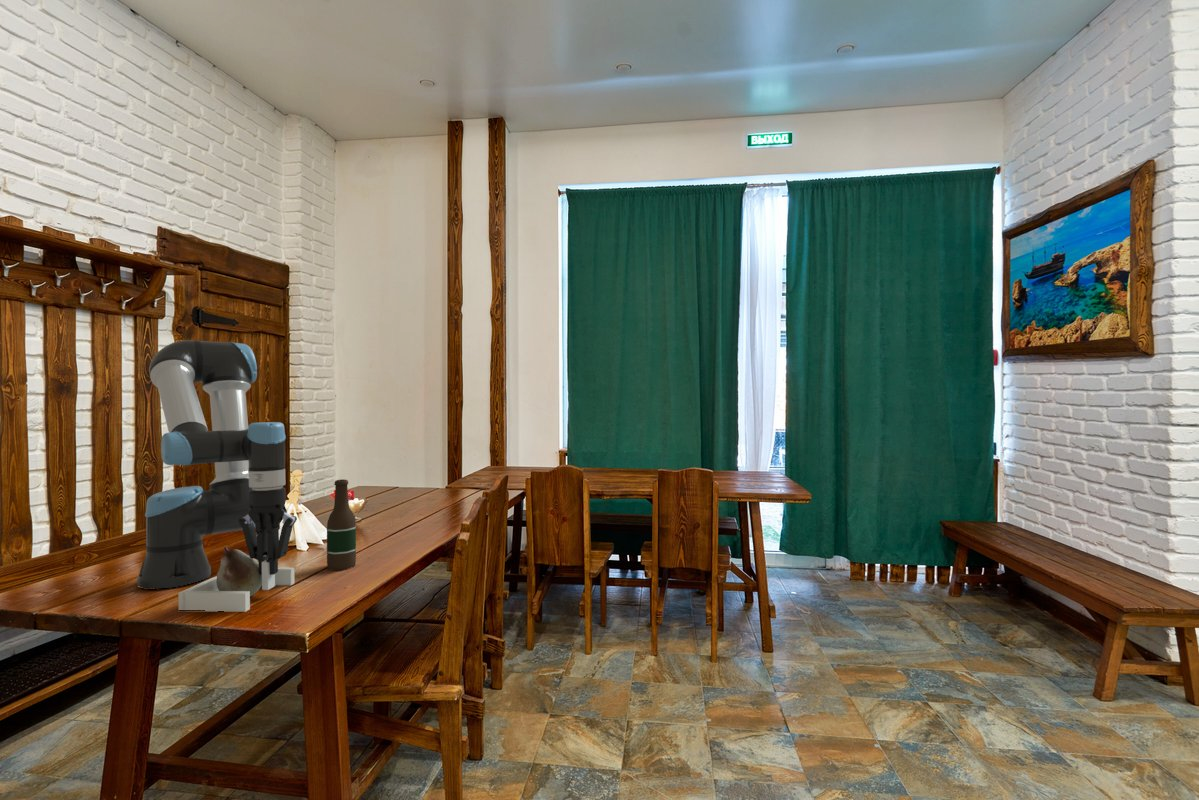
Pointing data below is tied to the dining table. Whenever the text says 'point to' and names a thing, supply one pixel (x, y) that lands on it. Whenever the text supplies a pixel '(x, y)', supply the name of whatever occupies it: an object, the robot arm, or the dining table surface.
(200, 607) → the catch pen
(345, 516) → the beer bottle
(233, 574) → the fruit
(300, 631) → the dining table surface
